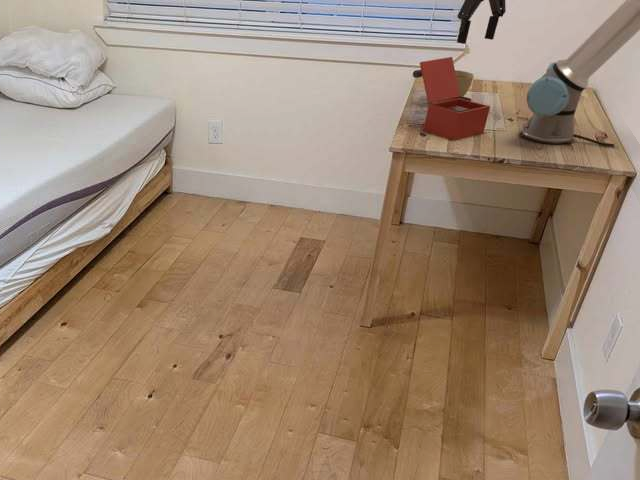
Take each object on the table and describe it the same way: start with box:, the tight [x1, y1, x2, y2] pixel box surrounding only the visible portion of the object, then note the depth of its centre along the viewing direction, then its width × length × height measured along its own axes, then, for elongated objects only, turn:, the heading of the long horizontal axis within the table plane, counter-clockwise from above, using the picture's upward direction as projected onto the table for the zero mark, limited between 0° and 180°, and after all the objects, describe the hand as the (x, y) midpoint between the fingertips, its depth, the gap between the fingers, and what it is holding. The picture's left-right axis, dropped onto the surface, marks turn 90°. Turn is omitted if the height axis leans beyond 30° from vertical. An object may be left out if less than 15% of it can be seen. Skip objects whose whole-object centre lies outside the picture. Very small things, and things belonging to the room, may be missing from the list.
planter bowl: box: [432, 69, 475, 104], centre depth 260 cm, size 16×16×11 cm
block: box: [447, 106, 469, 112], centre depth 230 cm, size 5×5×7 cm
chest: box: [422, 98, 491, 141], centre depth 230 cm, size 13×16×9 cm
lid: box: [412, 56, 460, 104], centre depth 234 cm, size 14×16×8 cm
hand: (475, 41), depth 216 cm, fingers open, 13 cm apart
